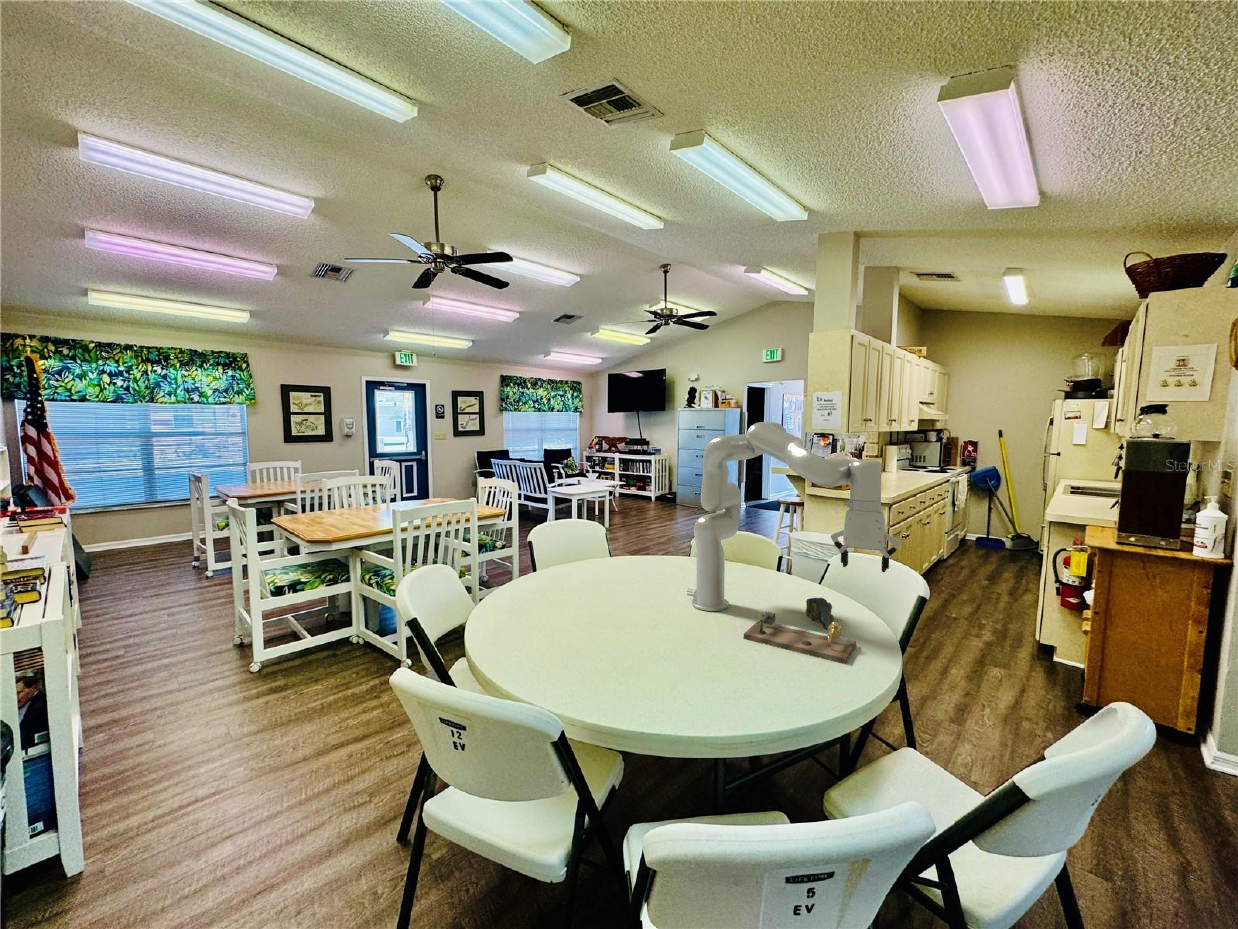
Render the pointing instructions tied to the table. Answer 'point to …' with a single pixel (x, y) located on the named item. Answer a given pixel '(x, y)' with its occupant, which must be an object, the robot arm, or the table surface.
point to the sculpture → (820, 611)
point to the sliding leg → (834, 632)
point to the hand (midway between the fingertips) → (864, 568)
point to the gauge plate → (799, 639)
